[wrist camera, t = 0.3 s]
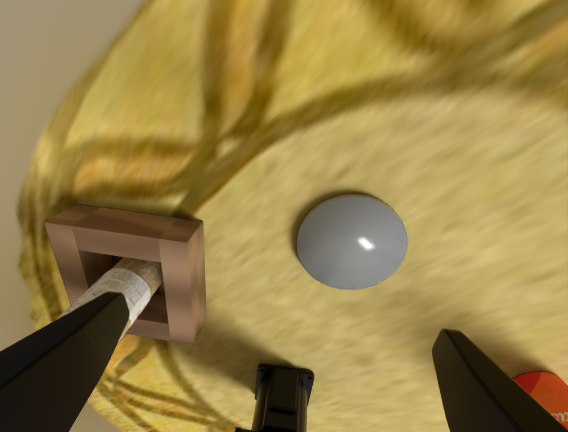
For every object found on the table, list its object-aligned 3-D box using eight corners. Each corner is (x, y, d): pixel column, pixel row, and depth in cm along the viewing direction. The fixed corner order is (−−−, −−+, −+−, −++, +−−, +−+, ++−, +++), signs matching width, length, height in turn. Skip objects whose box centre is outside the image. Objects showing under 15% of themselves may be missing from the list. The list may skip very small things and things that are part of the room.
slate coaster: (388, 290, 26) (390, 296, 25) (291, 276, 26) (291, 281, 26) (419, 201, 22) (423, 206, 21) (304, 186, 22) (304, 190, 22)
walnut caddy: (206, 316, 30) (193, 344, 27) (102, 300, 30) (77, 326, 27) (203, 221, 25) (186, 242, 22) (77, 203, 25) (43, 222, 22)
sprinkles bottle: (149, 289, 29) (33, 440, 17) (115, 258, 28) (-38, 399, 16) (179, 270, 27) (75, 422, 16) (144, 237, 26) (0, 374, 14)
